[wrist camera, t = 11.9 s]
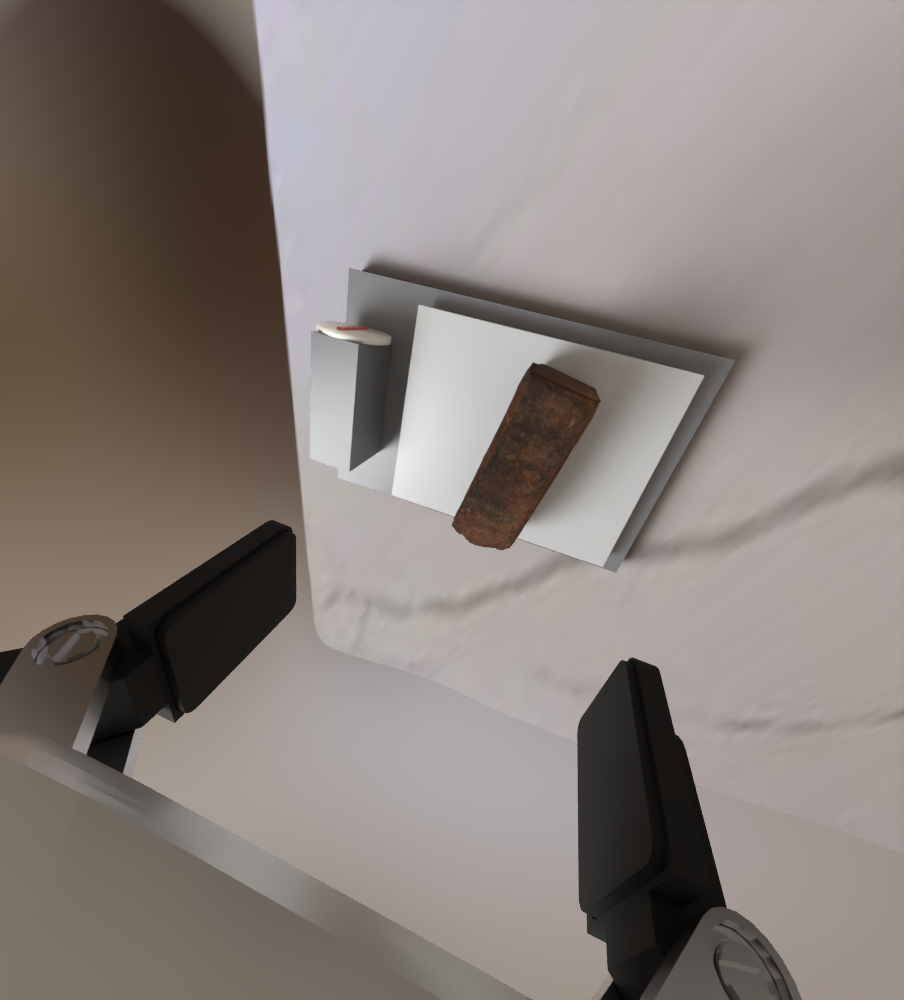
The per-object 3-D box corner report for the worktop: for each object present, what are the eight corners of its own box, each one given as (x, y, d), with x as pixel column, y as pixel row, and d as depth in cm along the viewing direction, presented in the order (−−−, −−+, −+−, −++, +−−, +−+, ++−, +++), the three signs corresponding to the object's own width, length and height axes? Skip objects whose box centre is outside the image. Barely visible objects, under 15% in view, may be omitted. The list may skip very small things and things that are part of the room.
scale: (725, 357, 21) (776, 370, 15) (614, 560, 28) (623, 615, 23) (358, 270, 24) (300, 256, 19) (345, 470, 32) (300, 499, 26)
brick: (534, 357, 21) (524, 366, 17) (598, 388, 20) (604, 405, 16) (463, 501, 26) (443, 535, 22) (512, 527, 26) (501, 566, 22)
